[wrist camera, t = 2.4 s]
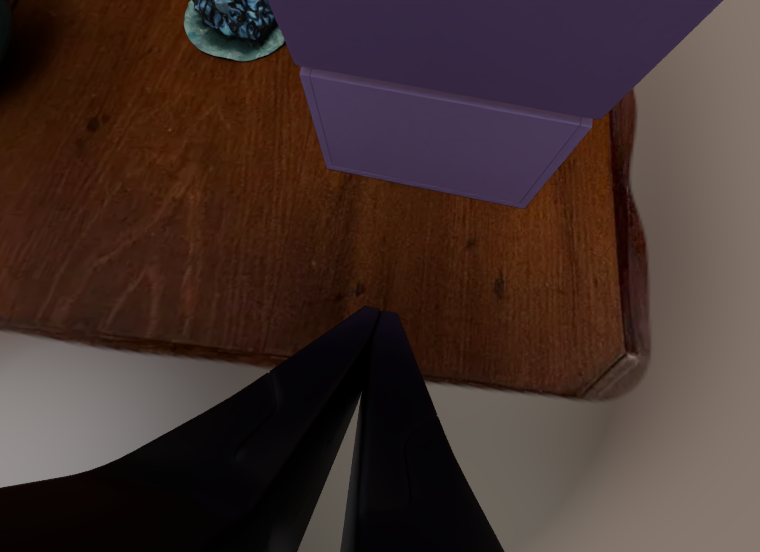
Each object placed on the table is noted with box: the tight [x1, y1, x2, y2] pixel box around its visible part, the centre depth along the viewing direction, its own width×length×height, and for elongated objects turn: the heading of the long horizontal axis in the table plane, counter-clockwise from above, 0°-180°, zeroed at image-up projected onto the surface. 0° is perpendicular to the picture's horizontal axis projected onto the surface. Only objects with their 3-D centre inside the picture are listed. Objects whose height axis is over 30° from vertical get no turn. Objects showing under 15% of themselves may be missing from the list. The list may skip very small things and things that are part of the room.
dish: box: [184, 0, 285, 61], centre depth 26 cm, size 8×7×8 cm
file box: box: [300, 66, 593, 209], centre depth 20 cm, size 15×13×8 cm
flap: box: [268, 0, 723, 120], centre depth 11 cm, size 7×13×1 cm
